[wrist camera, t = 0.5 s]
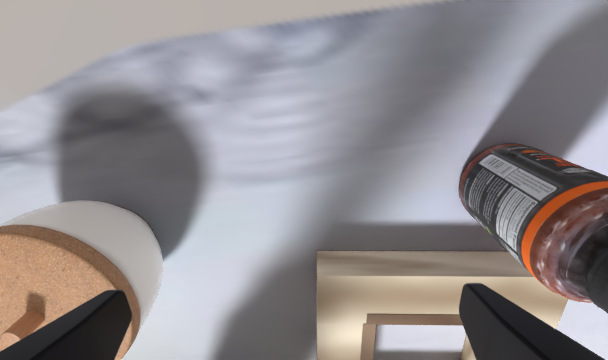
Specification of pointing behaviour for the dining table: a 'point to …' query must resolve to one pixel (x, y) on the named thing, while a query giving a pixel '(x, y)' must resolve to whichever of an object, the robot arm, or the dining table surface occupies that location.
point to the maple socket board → (413, 294)
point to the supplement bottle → (544, 217)
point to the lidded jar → (75, 265)
